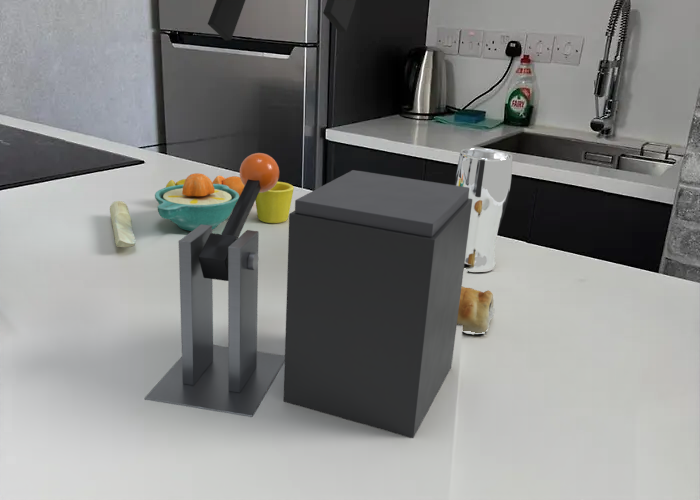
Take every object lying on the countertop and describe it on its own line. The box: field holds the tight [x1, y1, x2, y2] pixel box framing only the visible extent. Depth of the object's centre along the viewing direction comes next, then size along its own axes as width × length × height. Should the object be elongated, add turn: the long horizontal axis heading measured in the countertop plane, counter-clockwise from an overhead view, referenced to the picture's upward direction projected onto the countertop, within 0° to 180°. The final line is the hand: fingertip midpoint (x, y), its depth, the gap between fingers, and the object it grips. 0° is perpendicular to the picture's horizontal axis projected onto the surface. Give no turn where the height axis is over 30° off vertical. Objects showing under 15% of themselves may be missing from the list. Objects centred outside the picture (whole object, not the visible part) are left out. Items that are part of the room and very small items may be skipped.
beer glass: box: [454, 147, 514, 270], centre depth 88 cm, size 7×7×15 cm
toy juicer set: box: [109, 172, 295, 248], centre depth 99 cm, size 29×18×8 cm, turn 132°
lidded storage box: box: [283, 169, 472, 439], centre depth 56 cm, size 12×12×18 cm
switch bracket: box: [144, 225, 285, 418], centre depth 56 cm, size 10×9×14 cm
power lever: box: [198, 152, 280, 282], centre depth 58 cm, size 14×4×4 cm, turn 169°
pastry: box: [457, 286, 495, 333], centre depth 74 cm, size 9×7×4 cm
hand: (273, 28), depth 62 cm, fingers open, 13 cm apart
